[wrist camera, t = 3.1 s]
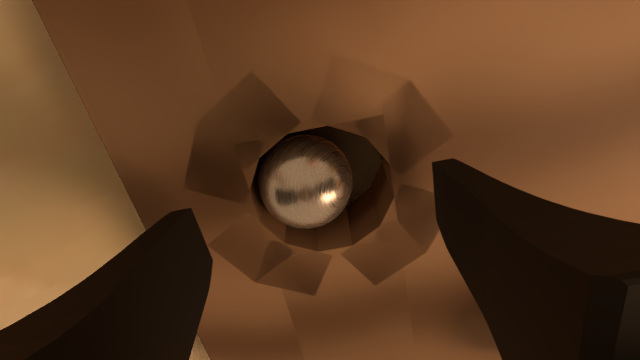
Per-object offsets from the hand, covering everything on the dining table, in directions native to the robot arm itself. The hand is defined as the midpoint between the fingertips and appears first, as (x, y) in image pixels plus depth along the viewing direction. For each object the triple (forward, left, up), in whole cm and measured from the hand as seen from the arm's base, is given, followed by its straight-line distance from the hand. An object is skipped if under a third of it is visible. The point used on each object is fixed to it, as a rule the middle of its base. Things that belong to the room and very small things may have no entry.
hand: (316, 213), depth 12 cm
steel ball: (0, 0, -2) cm, 2 cm away
